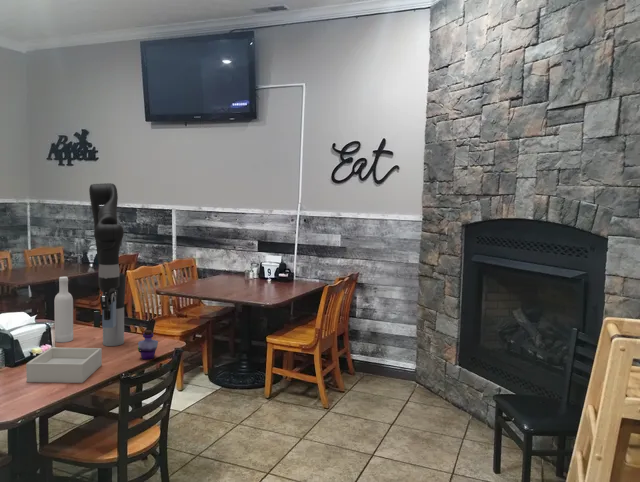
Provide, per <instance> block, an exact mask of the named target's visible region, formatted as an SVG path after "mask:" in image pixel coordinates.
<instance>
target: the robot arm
mask: <svg viewBox="0 0 640 482" xmlns="http://www.w3.org/2000/svg"><path fill="white" fill-rule="evenodd" d="M88 189H89V190H88V191H89V200H90V205H91V210H92V217H93V227H94V231H93V235H94V236H93V237H94V239H95V240H94V241H95V248H96V256H97V264H98V265H97V267H98V268H97V269H98V287H99V290H100V292H102V295H100V297H99V299H100V308H101V310H103V311H104V320H110V310H111V304H112V301H115V300H116V326H114V327H113V328H102V345H103V346H107V347H117V346H121V345H124V343H125V298H126V297H125V295H126V276H125V274H124V273H122V272H120V265H119V263H120V261H119V259H120V258H119V256H120V249H121V248H120V247H121V244H122V241H123V238H124V235H125V234H124V233H125V232H124V228H123V226H122V225H120V224H118V217H117V208H118V203H119V202H118V200H119V198H118V196H119V195H118V189H117V185H115V184H114V183H109V182H108V183H93V184H90V186H89V188H88ZM100 206H101V207H100ZM105 305H106V306H105Z"/></svg>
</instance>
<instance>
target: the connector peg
mask: <svg viewBox="0 0 640 482" xmlns="http://www.w3.org/2000/svg"><path fill="white" fill-rule="evenodd" d="M105 306H106V305H105ZM101 310H102V309H101ZM101 312H102V313H101V314H102V316H101V317H102V318H101V320H102V321H101V323H102V324H101V326H102V329H103V328H113V327H114V326H116V300H115V301H112V304H111V310H110V320H104V311H103V310H102V311H101Z"/></svg>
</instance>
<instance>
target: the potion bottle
mask: <svg viewBox="0 0 640 482" xmlns="http://www.w3.org/2000/svg"><path fill="white" fill-rule="evenodd" d="M153 337H154V333H153V331H152V330H150V329H146V330H144V332H143V333H142V338H144V339H142V340H139V341H138V343H137V350H138V353H140V357H141V359H140V360H144V361H152V360H154V359H155V354H156V351H157V348H158V345H159V344H158V343H159V341H158V340H156V339H153Z"/></svg>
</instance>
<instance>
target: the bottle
mask: <svg viewBox="0 0 640 482" xmlns="http://www.w3.org/2000/svg"><path fill="white" fill-rule="evenodd" d="M58 282H59V283H58V284H59V285H58V286H59V287H58V289H59V291H58V293H57V294H56V295H55V297H54V302H53V303H54V305H53V306H54V310H53V311H54V335H55V337H54V342H56V343H68V342H72V341H73V340H74V299H73V295H72V294H71V293H70V292H69V278H68V276H59V277H58Z"/></svg>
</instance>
